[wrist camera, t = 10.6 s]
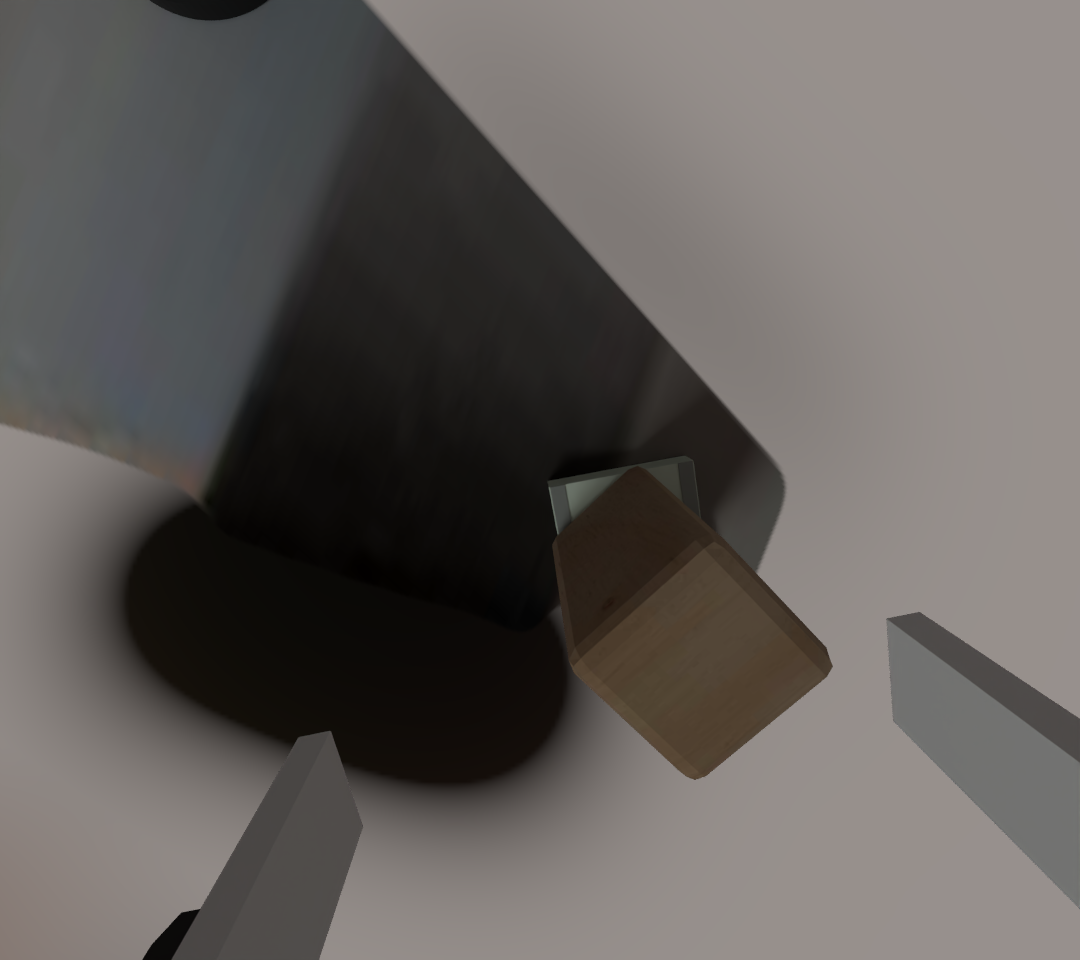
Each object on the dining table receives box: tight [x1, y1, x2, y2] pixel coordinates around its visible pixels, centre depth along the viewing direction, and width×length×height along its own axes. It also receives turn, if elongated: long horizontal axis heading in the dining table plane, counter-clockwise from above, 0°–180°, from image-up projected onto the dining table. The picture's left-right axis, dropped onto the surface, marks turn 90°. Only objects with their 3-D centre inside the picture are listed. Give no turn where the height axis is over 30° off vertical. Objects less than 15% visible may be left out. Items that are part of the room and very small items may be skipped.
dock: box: [548, 455, 701, 535], centre depth 48 cm, size 12×12×3 cm
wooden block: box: [552, 466, 833, 780], centre depth 37 cm, size 10×10×20 cm
